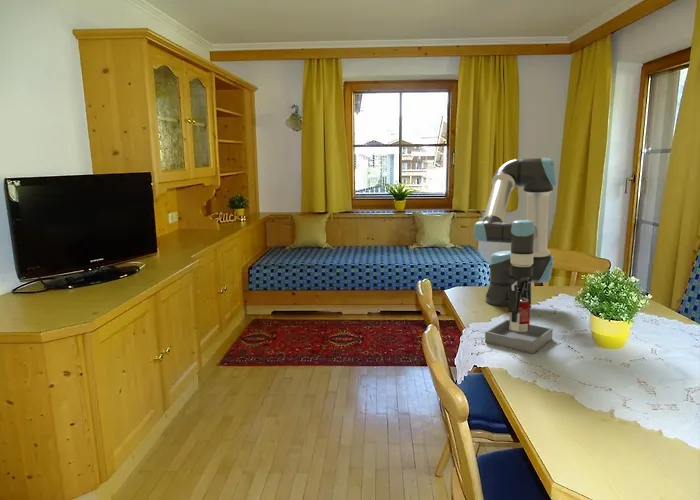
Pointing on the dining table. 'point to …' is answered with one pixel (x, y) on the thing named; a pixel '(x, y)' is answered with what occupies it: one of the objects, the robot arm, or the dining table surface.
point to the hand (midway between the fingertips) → (519, 327)
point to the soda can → (522, 317)
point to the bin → (519, 337)
